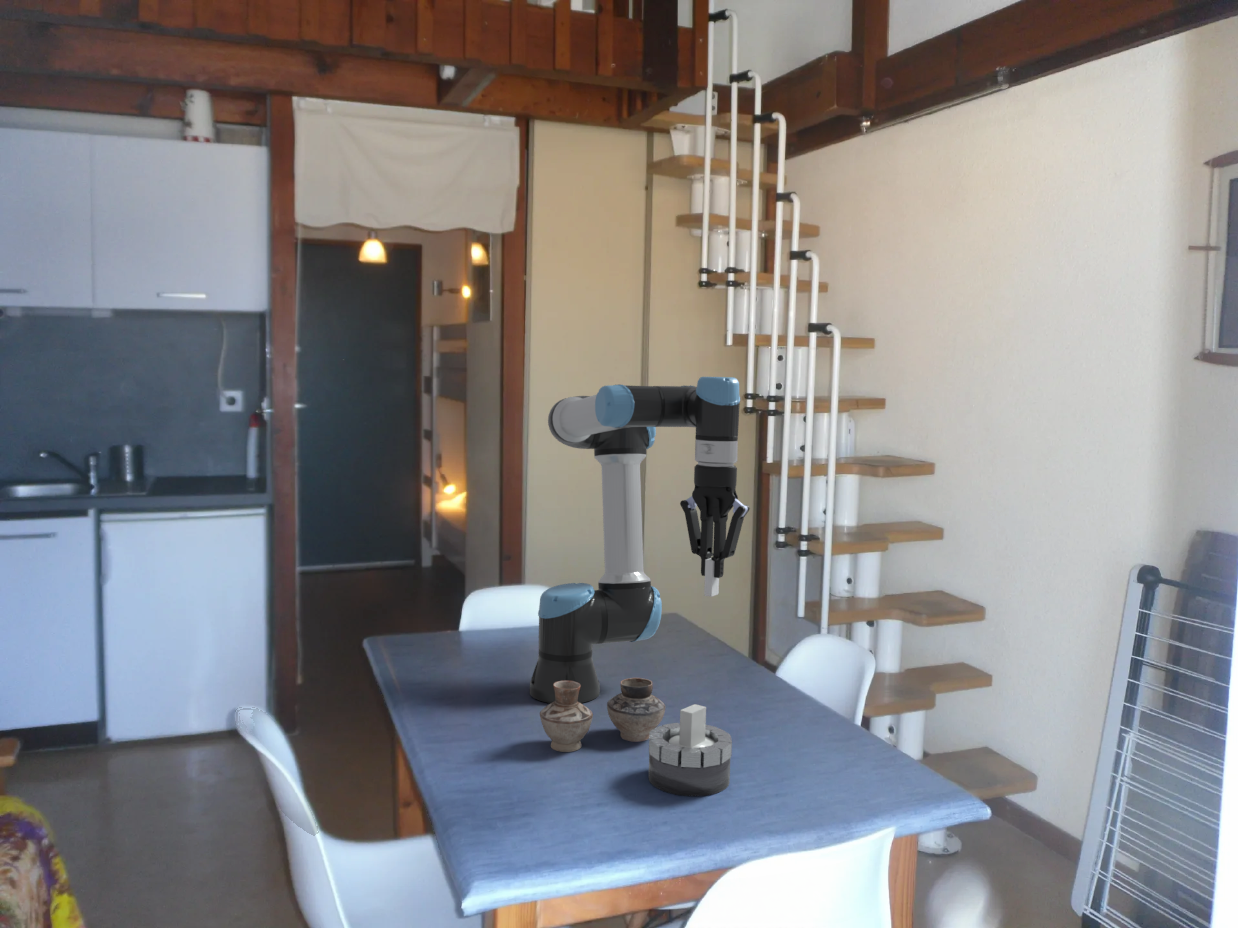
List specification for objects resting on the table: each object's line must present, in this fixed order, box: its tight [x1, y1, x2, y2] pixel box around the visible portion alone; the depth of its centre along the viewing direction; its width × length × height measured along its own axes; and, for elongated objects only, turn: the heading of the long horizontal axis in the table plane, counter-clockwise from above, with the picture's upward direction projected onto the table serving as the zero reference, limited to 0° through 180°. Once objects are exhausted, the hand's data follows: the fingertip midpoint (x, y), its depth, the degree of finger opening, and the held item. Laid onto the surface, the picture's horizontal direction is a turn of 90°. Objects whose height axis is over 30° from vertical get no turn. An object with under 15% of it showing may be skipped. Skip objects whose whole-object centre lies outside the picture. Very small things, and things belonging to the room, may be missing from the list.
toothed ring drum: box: [648, 722, 733, 797], centre depth 173 cm, size 14×14×8 cm
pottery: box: [539, 677, 666, 753], centre depth 189 cm, size 11×25×12 cm, turn 116°
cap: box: [669, 703, 715, 748], centre depth 172 cm, size 8×8×8 cm
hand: (711, 594), depth 180 cm, fingers closed
